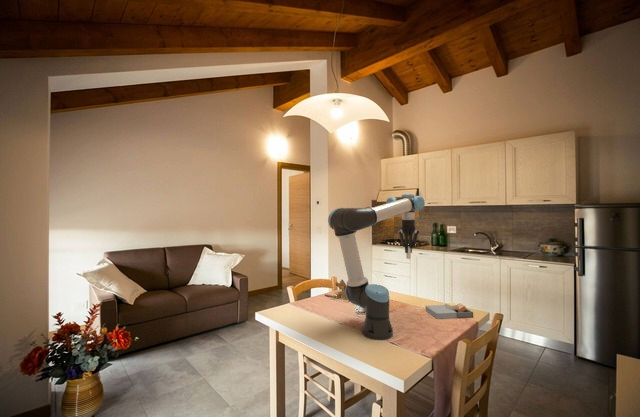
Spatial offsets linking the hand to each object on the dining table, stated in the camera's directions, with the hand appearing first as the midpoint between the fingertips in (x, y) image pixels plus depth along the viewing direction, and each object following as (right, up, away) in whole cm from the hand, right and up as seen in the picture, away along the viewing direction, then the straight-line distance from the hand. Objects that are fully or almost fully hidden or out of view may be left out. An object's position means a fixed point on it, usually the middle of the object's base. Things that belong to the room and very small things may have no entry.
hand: (408, 258), depth 183 cm
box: (+28, -32, -3) cm, 43 cm away
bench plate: (+18, -32, -4) cm, 37 cm away
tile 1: (+25, -29, -3) cm, 39 cm away
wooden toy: (-41, -33, +29) cm, 60 cm away
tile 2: (+29, -28, -3) cm, 41 cm away
